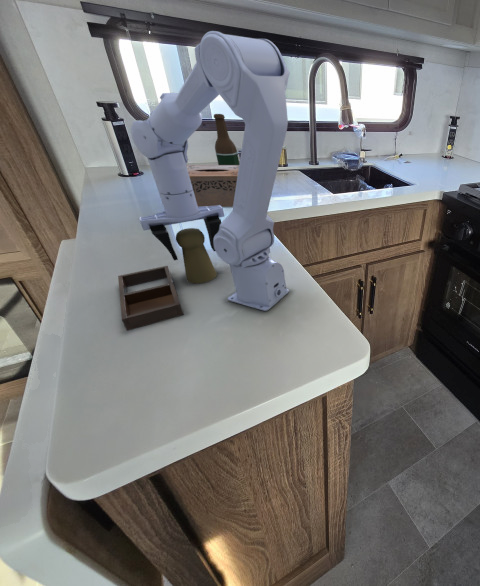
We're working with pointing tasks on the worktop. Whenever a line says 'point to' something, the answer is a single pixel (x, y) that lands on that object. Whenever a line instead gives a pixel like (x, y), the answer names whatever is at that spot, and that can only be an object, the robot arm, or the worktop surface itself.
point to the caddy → (148, 298)
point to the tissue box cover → (213, 184)
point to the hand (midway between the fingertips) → (195, 253)
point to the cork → (195, 256)
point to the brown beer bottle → (224, 144)
